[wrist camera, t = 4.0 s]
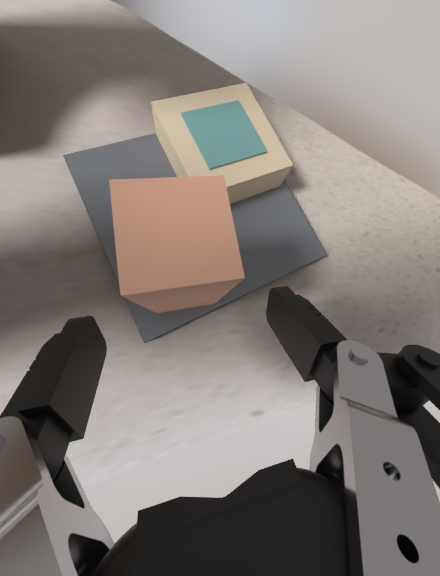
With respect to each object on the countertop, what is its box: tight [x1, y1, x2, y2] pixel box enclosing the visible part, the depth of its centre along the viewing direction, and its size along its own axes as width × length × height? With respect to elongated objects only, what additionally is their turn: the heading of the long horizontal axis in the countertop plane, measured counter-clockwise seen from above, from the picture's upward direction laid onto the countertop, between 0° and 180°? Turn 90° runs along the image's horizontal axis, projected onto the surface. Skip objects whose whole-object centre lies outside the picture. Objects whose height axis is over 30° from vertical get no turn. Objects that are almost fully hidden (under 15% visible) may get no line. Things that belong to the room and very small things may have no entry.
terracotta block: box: [109, 175, 245, 314], centre depth 13 cm, size 5×5×10 cm
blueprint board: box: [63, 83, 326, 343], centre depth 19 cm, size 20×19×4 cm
